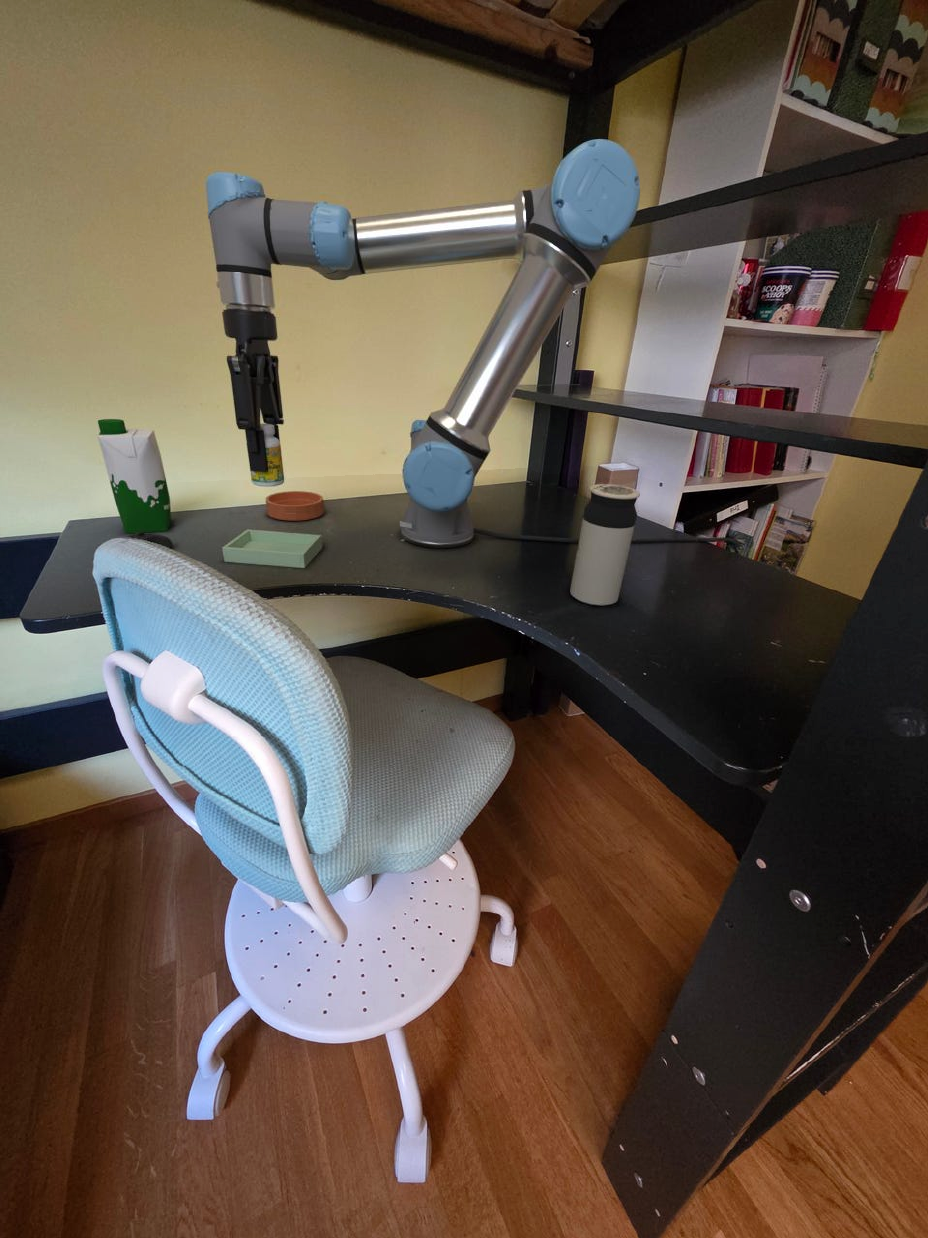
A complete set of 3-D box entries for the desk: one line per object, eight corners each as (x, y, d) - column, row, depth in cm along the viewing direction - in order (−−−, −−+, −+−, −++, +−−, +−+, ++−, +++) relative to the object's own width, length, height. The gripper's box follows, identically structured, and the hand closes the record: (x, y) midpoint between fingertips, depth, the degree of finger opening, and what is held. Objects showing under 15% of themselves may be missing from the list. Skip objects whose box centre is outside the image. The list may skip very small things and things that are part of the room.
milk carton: (127, 521, 104) (100, 416, 95) (177, 519, 107) (155, 417, 98) (119, 535, 97) (89, 424, 88) (173, 532, 100) (150, 424, 91)
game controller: (139, 561, 84) (109, 534, 83) (124, 580, 87) (94, 553, 85) (177, 542, 93) (150, 517, 91) (162, 559, 95) (136, 535, 94)
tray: (322, 548, 98) (321, 535, 97) (304, 568, 89) (303, 554, 88) (249, 542, 98) (247, 529, 97) (224, 561, 89) (221, 547, 88)
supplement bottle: (279, 478, 92) (273, 422, 88) (288, 485, 88) (282, 427, 84) (248, 480, 89) (240, 422, 85) (255, 488, 86) (248, 427, 81)
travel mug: (626, 598, 86) (651, 492, 78) (600, 611, 81) (624, 499, 73) (586, 582, 91) (606, 481, 83) (560, 594, 86) (578, 487, 78)
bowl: (330, 508, 121) (329, 493, 119) (314, 523, 110) (312, 507, 108) (279, 504, 121) (278, 489, 120) (258, 519, 110) (256, 503, 109)
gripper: (250, 311, 85) (267, 455, 96) (191, 302, 69) (218, 477, 80) (295, 314, 85) (306, 458, 96) (246, 306, 68) (266, 481, 79)
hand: (266, 466), depth 88 cm, fingers closed on supplement bottle, 5 cm apart
